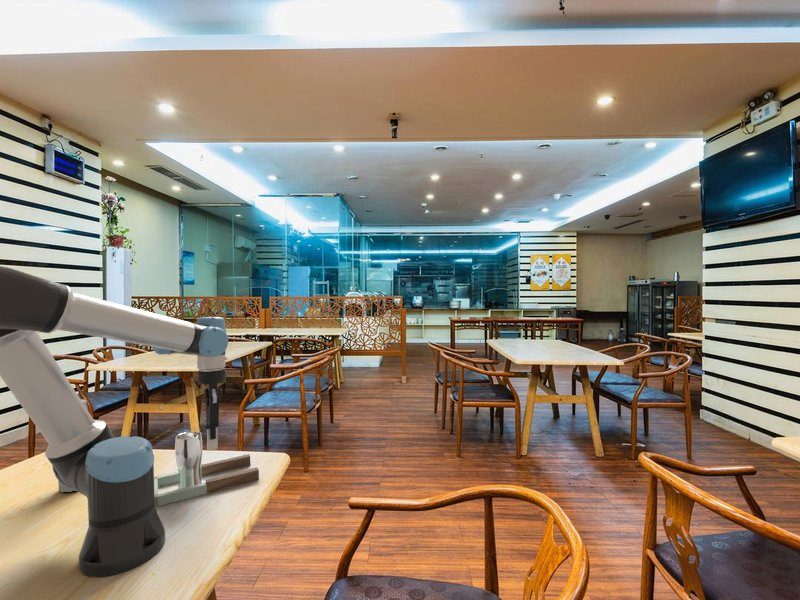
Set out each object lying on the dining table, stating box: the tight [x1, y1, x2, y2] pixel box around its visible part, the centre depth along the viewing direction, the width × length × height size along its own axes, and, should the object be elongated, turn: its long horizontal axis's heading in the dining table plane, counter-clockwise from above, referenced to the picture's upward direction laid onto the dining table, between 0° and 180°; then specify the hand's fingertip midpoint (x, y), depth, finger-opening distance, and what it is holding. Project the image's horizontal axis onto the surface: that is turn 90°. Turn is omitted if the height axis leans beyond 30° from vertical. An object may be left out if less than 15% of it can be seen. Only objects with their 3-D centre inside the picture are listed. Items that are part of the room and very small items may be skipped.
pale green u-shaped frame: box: [154, 466, 208, 508], centre depth 112 cm, size 14×13×2 cm
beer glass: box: [174, 430, 203, 489], centre depth 114 cm, size 7×7×15 cm
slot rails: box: [200, 453, 260, 494], centre depth 119 cm, size 14×14×3 cm
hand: (212, 448), depth 117 cm, fingers closed
